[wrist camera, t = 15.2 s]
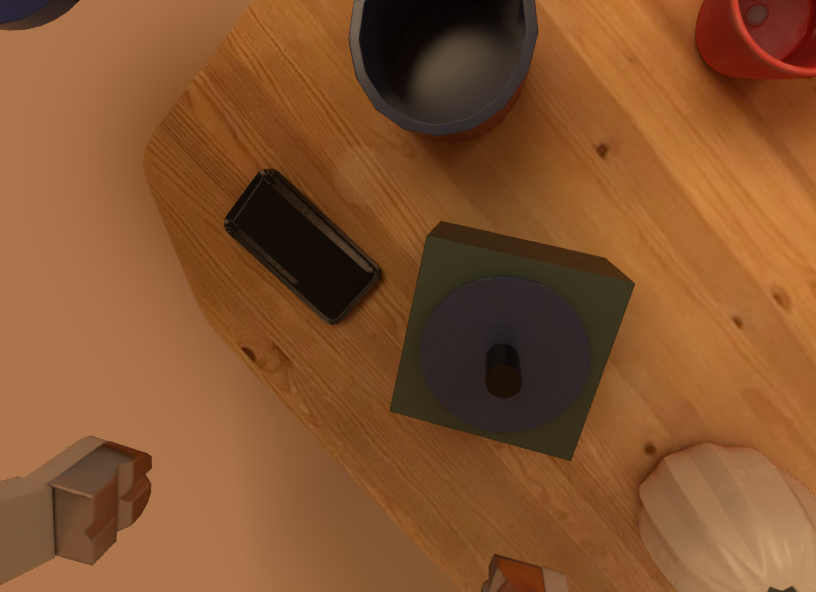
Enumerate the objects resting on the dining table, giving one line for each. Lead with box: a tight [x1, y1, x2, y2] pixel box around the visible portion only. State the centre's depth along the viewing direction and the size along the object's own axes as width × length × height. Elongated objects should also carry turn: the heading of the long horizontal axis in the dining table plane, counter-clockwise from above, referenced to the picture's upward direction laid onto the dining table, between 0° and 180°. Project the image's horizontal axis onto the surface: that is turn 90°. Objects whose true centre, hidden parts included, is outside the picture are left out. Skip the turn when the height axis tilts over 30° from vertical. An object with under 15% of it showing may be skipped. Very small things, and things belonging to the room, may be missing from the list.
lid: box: [420, 275, 591, 432], centre depth 33 cm, size 12×12×5 cm
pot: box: [349, 0, 538, 143], centre depth 34 cm, size 11×11×12 cm
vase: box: [638, 442, 816, 592], centre depth 39 cm, size 14×14×13 cm
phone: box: [224, 169, 381, 325], centre depth 45 cm, size 8×1×15 cm
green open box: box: [390, 221, 635, 461], centre depth 40 cm, size 15×15×9 cm
